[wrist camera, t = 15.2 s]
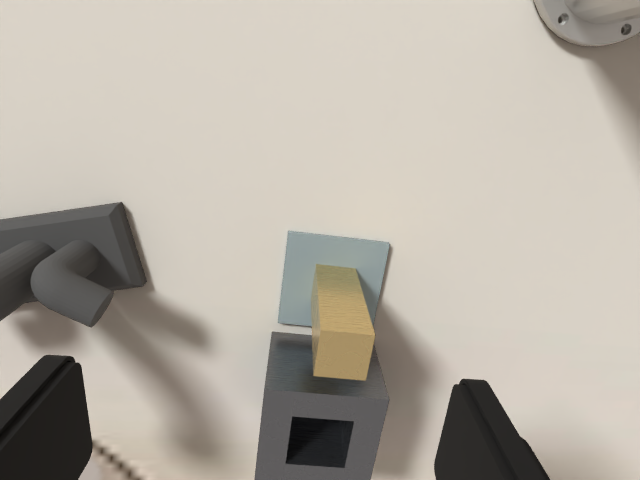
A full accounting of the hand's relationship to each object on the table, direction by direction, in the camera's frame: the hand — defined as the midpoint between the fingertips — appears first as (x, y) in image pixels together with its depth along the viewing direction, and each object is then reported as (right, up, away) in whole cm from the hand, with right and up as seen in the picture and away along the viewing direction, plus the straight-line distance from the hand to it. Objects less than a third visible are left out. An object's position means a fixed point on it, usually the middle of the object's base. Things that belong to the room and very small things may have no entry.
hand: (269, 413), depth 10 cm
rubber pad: (+2, 0, +32) cm, 32 cm away
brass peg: (+3, 0, +31) cm, 31 cm away
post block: (+1, -11, +36) cm, 37 cm away
